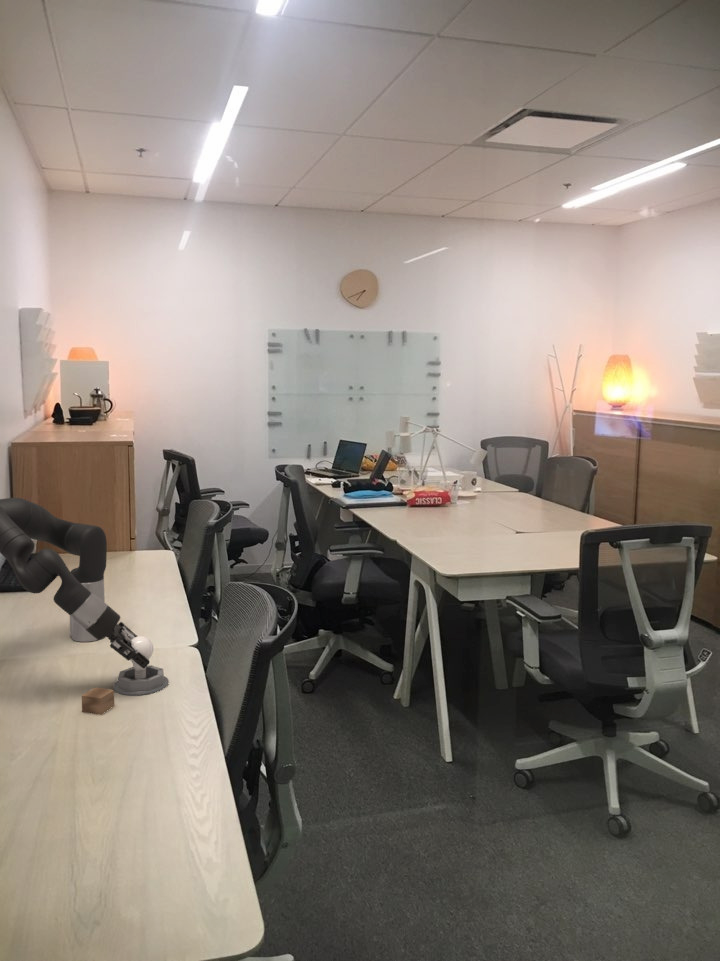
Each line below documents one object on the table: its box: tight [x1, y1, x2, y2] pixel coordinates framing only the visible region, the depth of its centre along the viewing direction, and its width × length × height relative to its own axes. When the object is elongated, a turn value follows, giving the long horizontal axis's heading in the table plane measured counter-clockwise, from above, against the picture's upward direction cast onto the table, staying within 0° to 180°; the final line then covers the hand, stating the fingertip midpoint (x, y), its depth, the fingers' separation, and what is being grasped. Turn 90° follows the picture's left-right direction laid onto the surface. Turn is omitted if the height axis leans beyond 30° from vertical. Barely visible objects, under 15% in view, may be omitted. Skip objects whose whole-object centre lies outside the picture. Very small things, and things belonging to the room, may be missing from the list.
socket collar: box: [113, 664, 170, 697], centre depth 189 cm, size 13×13×3 cm
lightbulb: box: [128, 635, 154, 680], centre depth 188 cm, size 6×6×11 cm
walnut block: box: [81, 687, 115, 716], centre depth 175 cm, size 5×5×4 cm
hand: (147, 660), depth 189 cm, fingers closed on lightbulb, 6 cm apart
